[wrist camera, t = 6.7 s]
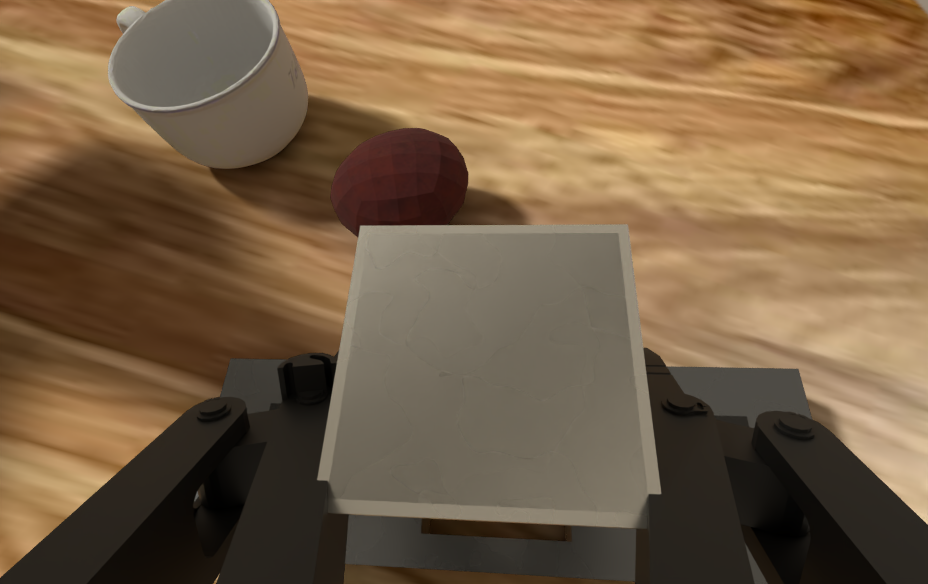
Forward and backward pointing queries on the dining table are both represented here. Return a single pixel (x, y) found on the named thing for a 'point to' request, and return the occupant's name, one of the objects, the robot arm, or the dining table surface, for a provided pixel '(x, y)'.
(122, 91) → the teacup
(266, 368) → the grey board with recesses
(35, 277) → the dining table surface
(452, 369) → the grey rectangular block
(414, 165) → the potato
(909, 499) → the dining table surface
